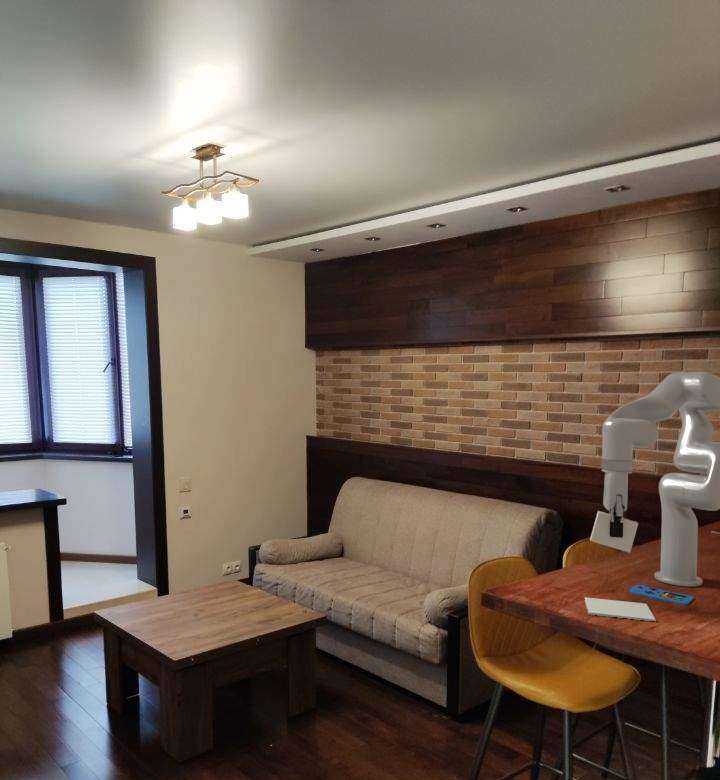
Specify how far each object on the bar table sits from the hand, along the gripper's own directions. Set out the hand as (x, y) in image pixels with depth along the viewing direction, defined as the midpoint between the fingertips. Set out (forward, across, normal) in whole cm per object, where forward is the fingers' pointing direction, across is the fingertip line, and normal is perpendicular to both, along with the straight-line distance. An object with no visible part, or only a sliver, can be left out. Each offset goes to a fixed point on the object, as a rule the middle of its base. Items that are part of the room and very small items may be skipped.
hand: (615, 535), depth 167 cm
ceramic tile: (+3, 0, -1) cm, 3 cm away
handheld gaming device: (+18, -8, +13) cm, 23 cm away
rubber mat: (+17, +9, 0) cm, 19 cm away
